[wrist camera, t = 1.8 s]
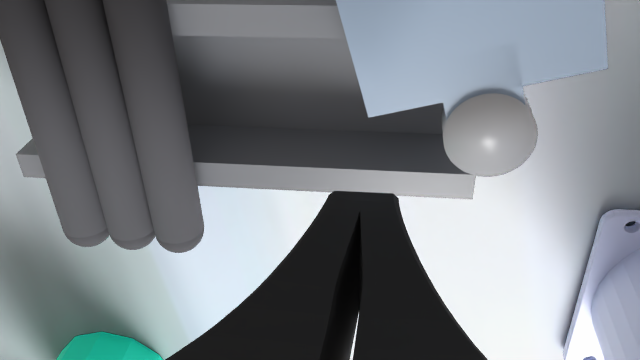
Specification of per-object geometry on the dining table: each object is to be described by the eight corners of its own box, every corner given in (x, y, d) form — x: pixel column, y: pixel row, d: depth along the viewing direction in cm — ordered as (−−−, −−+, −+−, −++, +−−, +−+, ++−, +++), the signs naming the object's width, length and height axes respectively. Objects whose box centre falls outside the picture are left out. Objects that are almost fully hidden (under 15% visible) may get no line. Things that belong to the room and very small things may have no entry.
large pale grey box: (517, -24, 18) (534, 7, 15) (491, 151, 21) (502, 200, 19) (18, -27, 20) (-38, 1, 17) (65, 134, 23) (23, 177, 21)
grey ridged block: (163, -75, 15) (140, -61, 14) (212, 233, 21) (198, 264, 20) (-9, -73, 16) (-48, -61, 15) (82, 225, 21) (60, 255, 20)
